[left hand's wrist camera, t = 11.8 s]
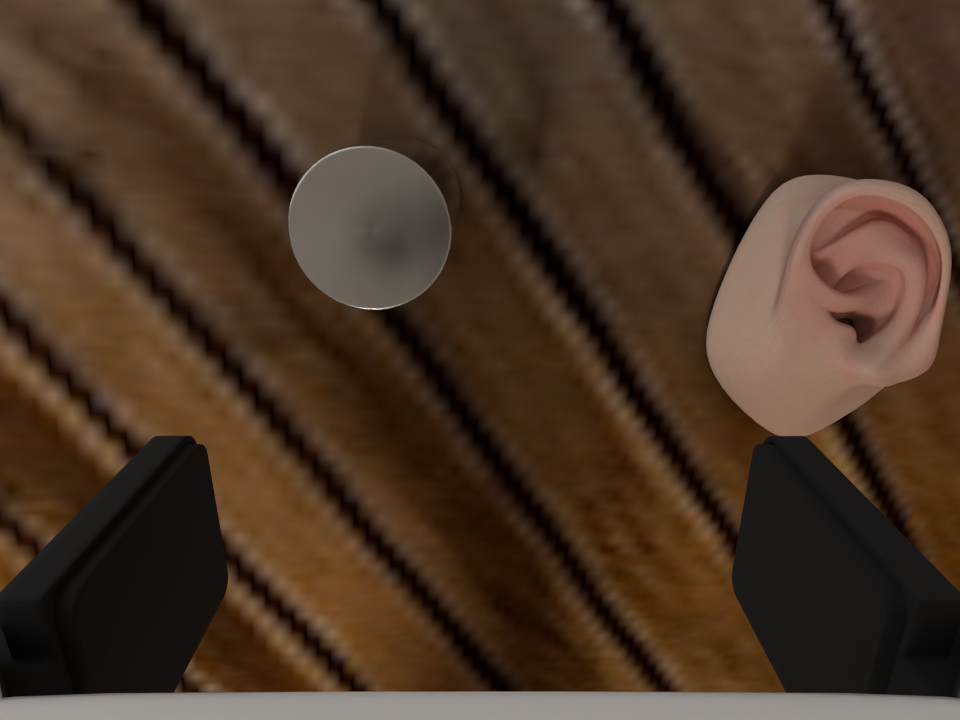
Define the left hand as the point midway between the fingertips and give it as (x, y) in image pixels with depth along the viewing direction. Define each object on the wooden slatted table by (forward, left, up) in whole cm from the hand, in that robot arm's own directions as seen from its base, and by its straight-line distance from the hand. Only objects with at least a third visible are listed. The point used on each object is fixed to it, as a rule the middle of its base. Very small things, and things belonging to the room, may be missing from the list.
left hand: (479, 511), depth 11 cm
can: (-3, +4, -23) cm, 24 cm away
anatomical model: (+15, -9, -23) cm, 29 cm away
